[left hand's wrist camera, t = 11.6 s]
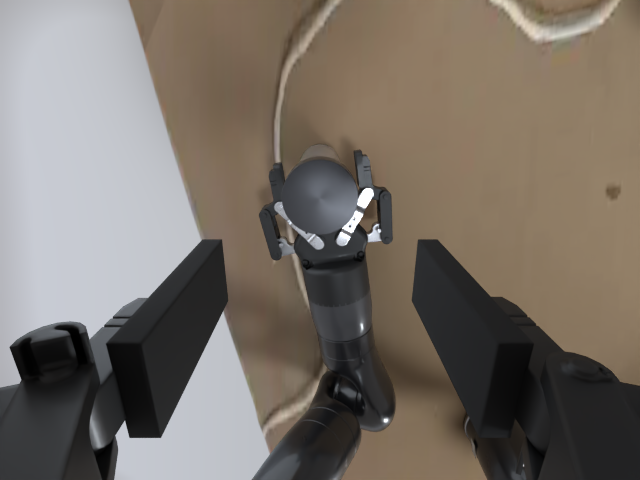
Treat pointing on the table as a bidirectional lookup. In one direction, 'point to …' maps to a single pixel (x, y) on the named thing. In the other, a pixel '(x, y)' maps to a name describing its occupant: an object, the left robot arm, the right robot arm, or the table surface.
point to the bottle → (319, 152)
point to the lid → (319, 195)
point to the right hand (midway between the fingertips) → (316, 157)
